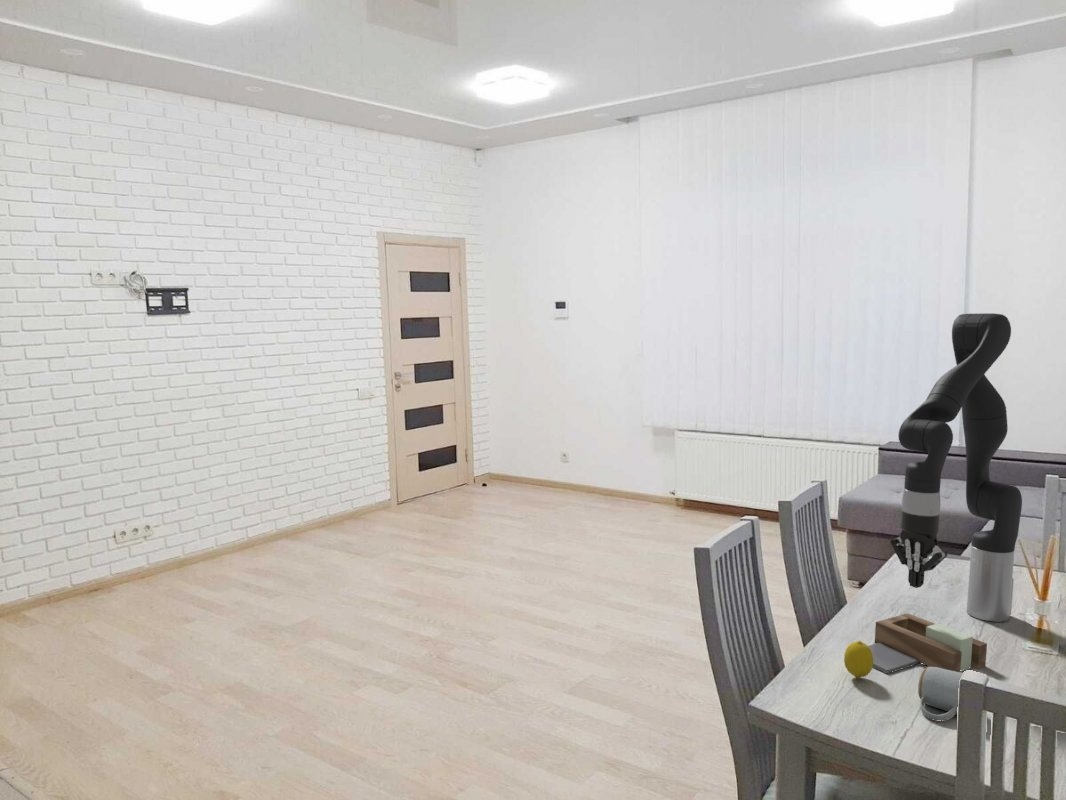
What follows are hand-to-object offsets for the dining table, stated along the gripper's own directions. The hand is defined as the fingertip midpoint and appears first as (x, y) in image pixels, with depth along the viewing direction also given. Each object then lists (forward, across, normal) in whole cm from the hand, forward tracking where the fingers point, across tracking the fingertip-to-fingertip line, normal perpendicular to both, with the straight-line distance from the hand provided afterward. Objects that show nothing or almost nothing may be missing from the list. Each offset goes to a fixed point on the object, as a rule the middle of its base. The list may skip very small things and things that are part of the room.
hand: (915, 586), depth 179 cm
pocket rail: (+14, -4, 0) cm, 15 cm away
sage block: (+14, -8, 0) cm, 17 cm away
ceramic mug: (+15, -21, +19) cm, 32 cm away
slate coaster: (+14, -1, +11) cm, 18 cm away
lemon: (+15, -4, +23) cm, 27 cm away
